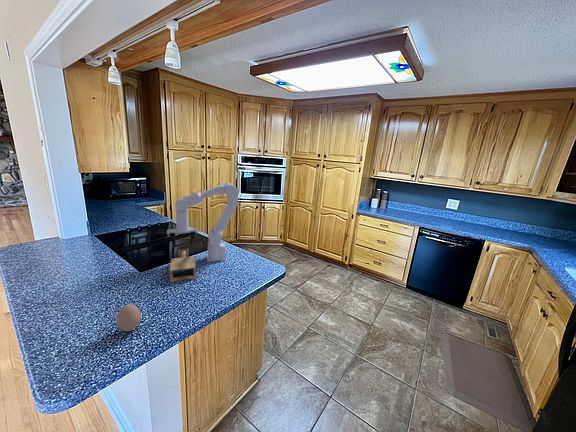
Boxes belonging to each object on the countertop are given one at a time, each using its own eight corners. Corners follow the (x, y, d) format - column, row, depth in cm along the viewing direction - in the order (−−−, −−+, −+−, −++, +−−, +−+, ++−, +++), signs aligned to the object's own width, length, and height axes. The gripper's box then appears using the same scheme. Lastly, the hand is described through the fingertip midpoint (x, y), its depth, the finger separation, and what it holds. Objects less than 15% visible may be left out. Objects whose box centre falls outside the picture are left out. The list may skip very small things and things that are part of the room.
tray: (188, 256, 133) (188, 248, 132) (188, 266, 121) (188, 258, 120) (179, 257, 131) (178, 249, 130) (178, 267, 119) (177, 259, 118)
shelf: (195, 267, 121) (194, 256, 120) (196, 278, 111) (195, 267, 109) (171, 269, 117) (171, 258, 115) (170, 281, 106) (169, 269, 105)
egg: (116, 328, 77) (113, 304, 75) (138, 319, 82) (136, 297, 80) (120, 340, 73) (117, 315, 71) (144, 330, 77) (142, 306, 75)
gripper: (197, 218, 127) (197, 242, 130) (167, 219, 121) (168, 244, 124) (197, 222, 121) (198, 246, 124) (166, 223, 115) (167, 249, 118)
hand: (183, 245), depth 124 cm, fingers open, 7 cm apart
